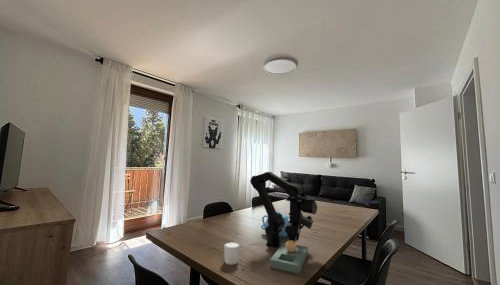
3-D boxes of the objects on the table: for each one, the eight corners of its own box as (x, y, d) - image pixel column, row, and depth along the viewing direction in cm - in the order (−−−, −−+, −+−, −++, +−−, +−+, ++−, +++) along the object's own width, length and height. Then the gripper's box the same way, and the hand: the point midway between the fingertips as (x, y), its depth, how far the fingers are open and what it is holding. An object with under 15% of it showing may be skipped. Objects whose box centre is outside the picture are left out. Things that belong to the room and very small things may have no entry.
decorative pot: (279, 229, 141) (279, 208, 143) (296, 236, 128) (296, 213, 129) (259, 233, 132) (259, 210, 134) (275, 241, 119) (275, 215, 120)
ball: (284, 252, 96) (284, 241, 96) (286, 248, 100) (287, 237, 101) (295, 255, 93) (295, 243, 94) (297, 251, 98) (297, 239, 99)
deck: (269, 267, 88) (269, 259, 88) (283, 248, 108) (283, 242, 108) (298, 273, 83) (298, 265, 83) (307, 253, 103) (308, 246, 103)
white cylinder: (239, 258, 96) (239, 242, 96) (239, 265, 89) (239, 247, 90) (224, 258, 95) (224, 241, 96) (222, 265, 89) (223, 247, 89)
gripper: (309, 216, 95) (309, 253, 94) (314, 209, 112) (314, 239, 110) (284, 213, 100) (284, 248, 98) (293, 206, 117) (293, 236, 115)
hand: (295, 243), depth 105 cm, fingers open, 9 cm apart
